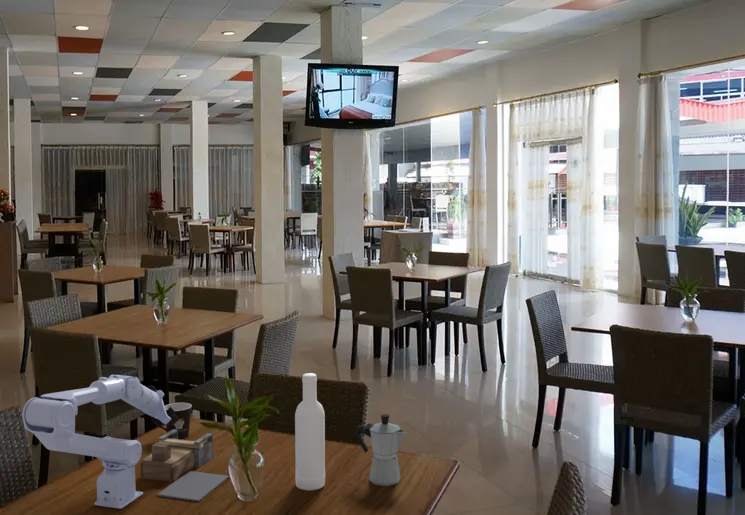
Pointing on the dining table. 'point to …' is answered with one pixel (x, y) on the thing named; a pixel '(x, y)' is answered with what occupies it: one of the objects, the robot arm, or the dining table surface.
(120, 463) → the robot arm
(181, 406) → the coffee mug
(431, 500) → the dining table surface
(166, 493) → the lid mat
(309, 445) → the bottle
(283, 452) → the dining table surface
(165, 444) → the toolbox lid
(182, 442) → the bar
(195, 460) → the toolbox
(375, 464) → the coffee maker
